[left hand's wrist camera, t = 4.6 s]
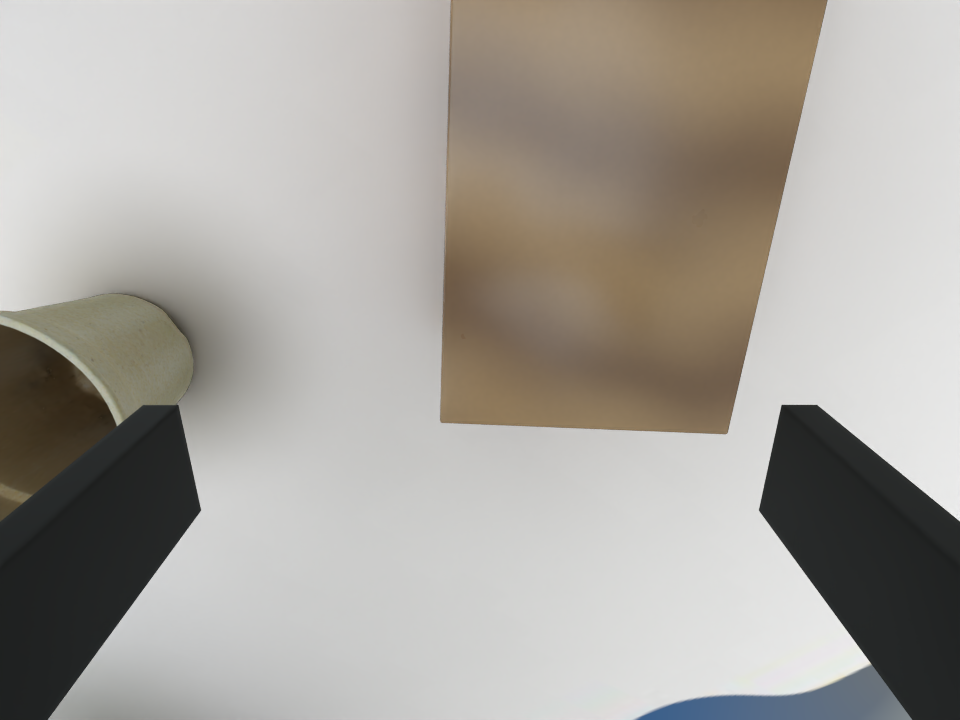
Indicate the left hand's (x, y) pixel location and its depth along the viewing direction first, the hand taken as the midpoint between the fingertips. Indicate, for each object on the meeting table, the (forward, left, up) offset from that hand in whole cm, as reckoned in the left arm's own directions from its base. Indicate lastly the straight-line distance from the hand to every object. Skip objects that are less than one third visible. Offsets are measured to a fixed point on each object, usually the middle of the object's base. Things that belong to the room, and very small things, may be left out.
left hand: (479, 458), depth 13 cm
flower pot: (+8, +15, -16) cm, 23 cm away
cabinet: (+3, -7, -16) cm, 18 cm away
